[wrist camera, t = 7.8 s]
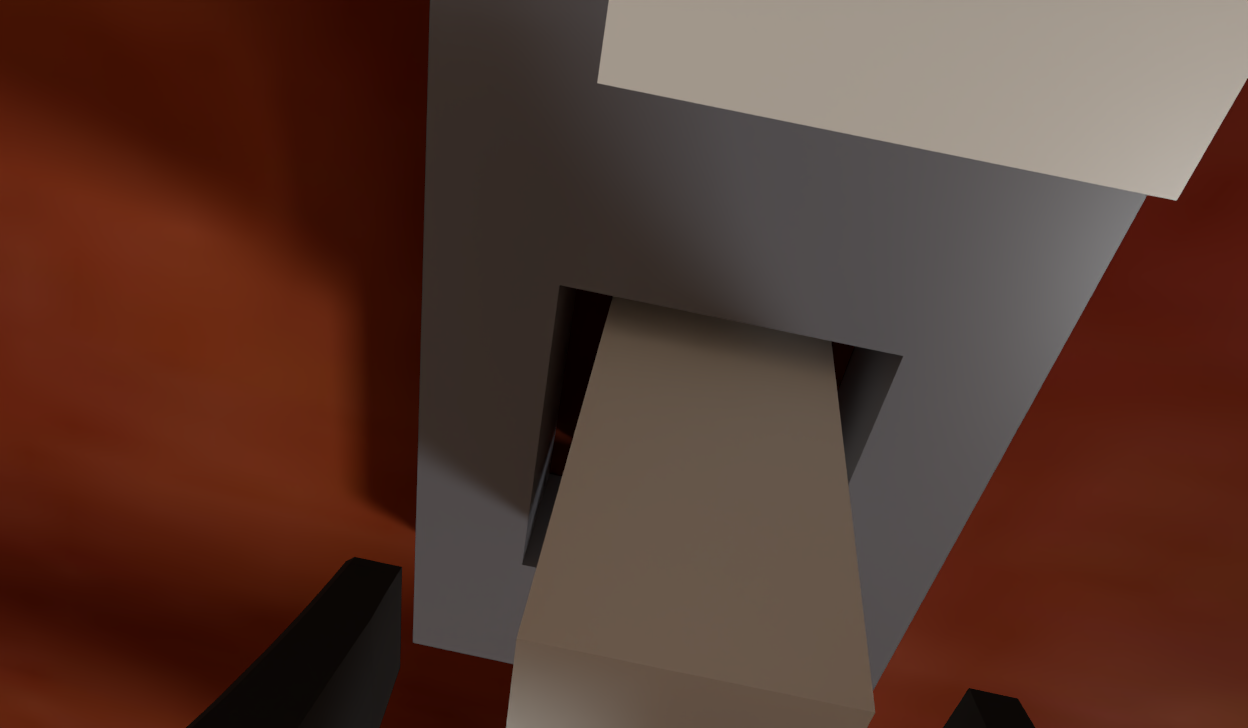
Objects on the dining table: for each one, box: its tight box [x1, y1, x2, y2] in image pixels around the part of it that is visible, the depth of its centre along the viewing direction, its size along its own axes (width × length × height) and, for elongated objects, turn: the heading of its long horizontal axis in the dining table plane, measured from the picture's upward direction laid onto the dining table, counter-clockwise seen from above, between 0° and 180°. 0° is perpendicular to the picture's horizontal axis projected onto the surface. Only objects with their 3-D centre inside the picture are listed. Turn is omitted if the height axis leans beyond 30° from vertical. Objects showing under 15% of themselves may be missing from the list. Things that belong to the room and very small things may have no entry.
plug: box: [506, 296, 875, 728], centre depth 13 cm, size 4×4×8 cm
